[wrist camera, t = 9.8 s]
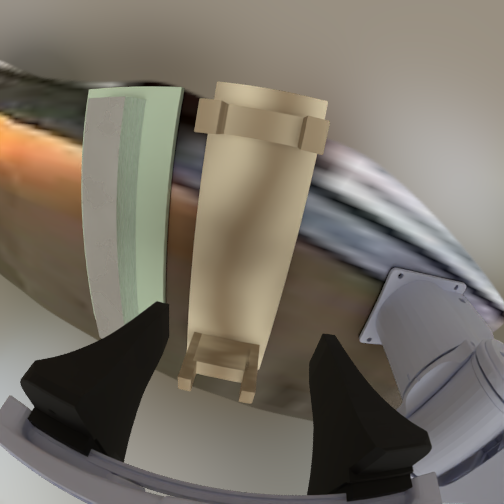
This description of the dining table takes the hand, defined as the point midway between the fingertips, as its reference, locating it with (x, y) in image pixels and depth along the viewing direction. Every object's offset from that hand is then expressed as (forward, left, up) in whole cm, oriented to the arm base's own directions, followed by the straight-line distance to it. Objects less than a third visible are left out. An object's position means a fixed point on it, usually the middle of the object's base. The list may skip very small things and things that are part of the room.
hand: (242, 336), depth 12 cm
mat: (+11, 0, -9) cm, 14 cm away
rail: (+11, 0, -9) cm, 14 cm away
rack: (+1, 0, -9) cm, 9 cm away
